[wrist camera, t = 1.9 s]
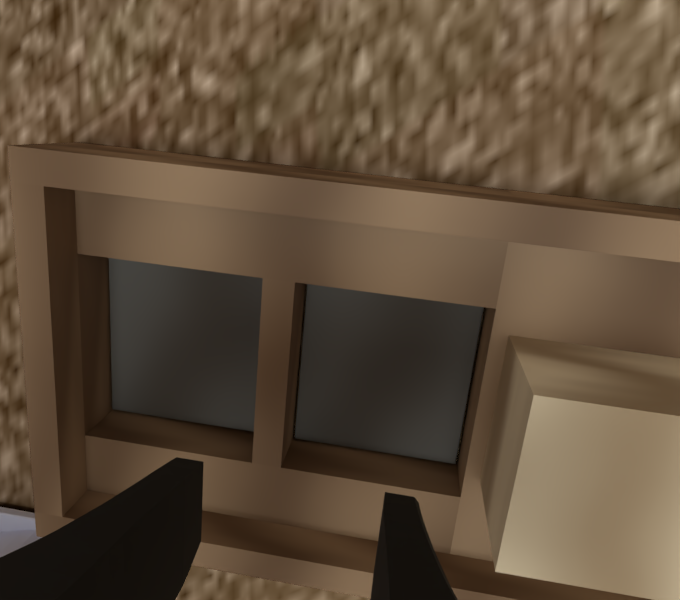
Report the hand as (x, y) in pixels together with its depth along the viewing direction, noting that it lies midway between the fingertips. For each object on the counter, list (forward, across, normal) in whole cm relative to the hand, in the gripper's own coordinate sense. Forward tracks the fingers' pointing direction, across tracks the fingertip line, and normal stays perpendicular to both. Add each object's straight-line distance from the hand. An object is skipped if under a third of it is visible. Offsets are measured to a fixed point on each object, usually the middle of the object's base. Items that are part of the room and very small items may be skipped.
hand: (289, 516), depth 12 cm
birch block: (+6, -8, 0) cm, 10 cm away
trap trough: (+8, -4, 0) cm, 10 cm away
